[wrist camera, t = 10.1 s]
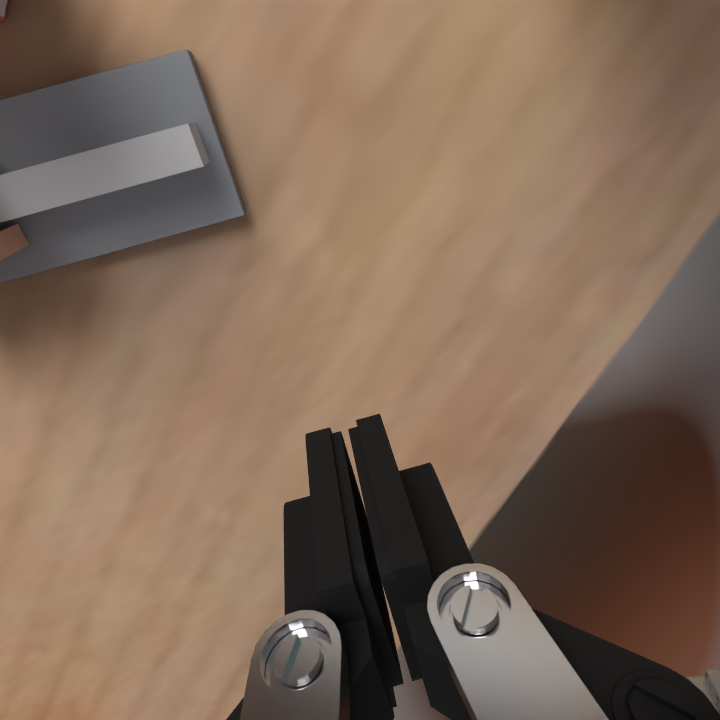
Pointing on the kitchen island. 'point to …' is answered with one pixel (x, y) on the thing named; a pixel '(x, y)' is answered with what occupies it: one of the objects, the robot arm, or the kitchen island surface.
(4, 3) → the cracker box
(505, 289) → the kitchen island surface
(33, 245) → the track
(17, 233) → the slider
